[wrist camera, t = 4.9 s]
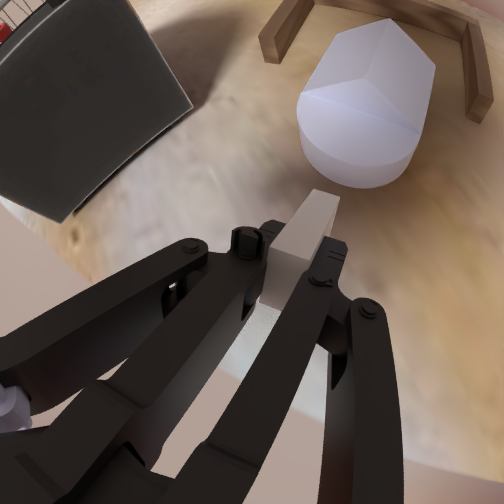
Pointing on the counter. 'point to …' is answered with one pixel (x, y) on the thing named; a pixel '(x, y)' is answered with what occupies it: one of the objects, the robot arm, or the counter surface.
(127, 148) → the voltmeter
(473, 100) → the walnut bay
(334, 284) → the robot arm
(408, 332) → the counter surface
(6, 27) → the plant pot
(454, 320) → the counter surface
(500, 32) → the counter surface
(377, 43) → the wedge on round base
